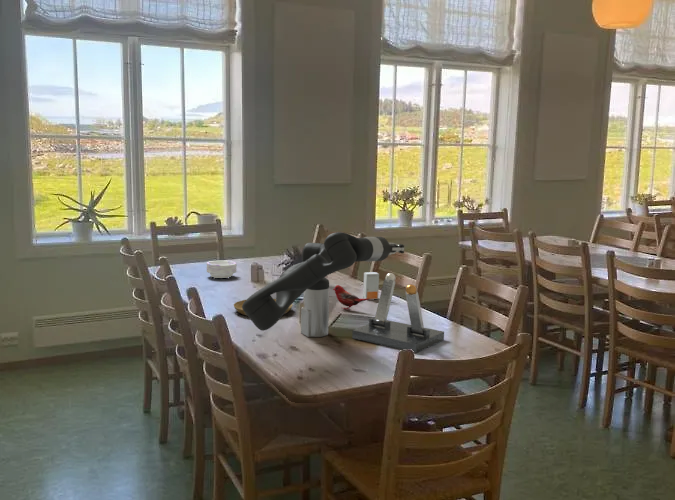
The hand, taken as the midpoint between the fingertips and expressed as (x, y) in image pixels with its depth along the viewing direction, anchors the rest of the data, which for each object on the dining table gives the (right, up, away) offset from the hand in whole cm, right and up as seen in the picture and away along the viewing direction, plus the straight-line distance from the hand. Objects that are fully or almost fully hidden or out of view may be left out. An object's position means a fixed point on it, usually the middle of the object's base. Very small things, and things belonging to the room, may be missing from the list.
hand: (401, 247), depth 210 cm
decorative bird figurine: (-15, -26, +60) cm, 67 cm away
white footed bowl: (-81, -15, +122) cm, 147 cm away
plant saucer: (-51, -26, +55) cm, 80 cm away
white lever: (-6, -28, +24) cm, 38 cm away
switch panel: (+1, -33, +20) cm, 38 cm away
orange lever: (+8, -30, +15) cm, 35 cm away
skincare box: (-6, -23, +82) cm, 85 cm away
